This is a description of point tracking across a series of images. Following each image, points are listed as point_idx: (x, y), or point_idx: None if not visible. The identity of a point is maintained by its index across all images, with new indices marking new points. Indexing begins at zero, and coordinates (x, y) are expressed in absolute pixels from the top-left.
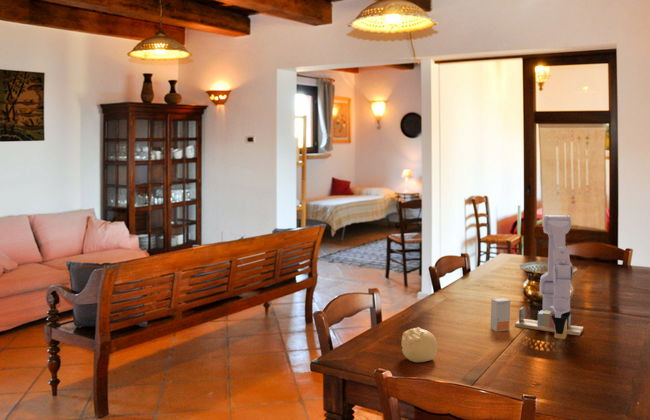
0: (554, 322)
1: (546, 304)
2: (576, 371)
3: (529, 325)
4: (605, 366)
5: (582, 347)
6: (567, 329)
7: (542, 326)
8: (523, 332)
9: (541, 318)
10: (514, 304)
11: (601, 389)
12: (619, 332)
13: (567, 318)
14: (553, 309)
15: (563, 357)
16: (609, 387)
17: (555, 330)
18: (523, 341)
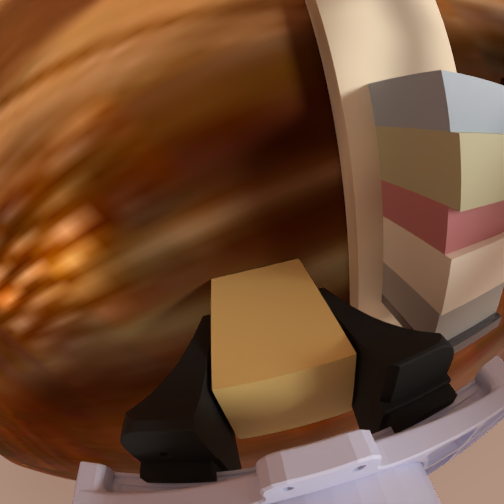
0: (166, 382)
1: None
2: (2, 414)
3: (324, 30)
4: (84, 456)
5: None
6: (382, 298)
7: (365, 127)
8: (177, 41)
9: (414, 114)
10: None
11: (3, 440)
12: None
13: (352, 404)
14: (209, 496)
15: (23, 385)
16: (18, 449)
17: (212, 317)
18: (6, 169)
